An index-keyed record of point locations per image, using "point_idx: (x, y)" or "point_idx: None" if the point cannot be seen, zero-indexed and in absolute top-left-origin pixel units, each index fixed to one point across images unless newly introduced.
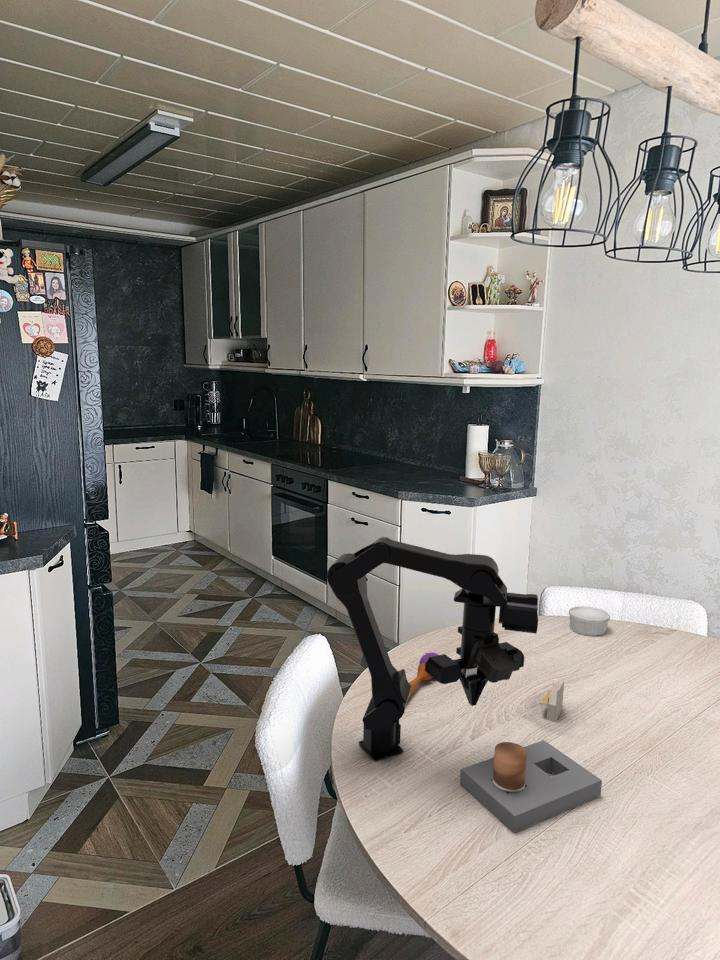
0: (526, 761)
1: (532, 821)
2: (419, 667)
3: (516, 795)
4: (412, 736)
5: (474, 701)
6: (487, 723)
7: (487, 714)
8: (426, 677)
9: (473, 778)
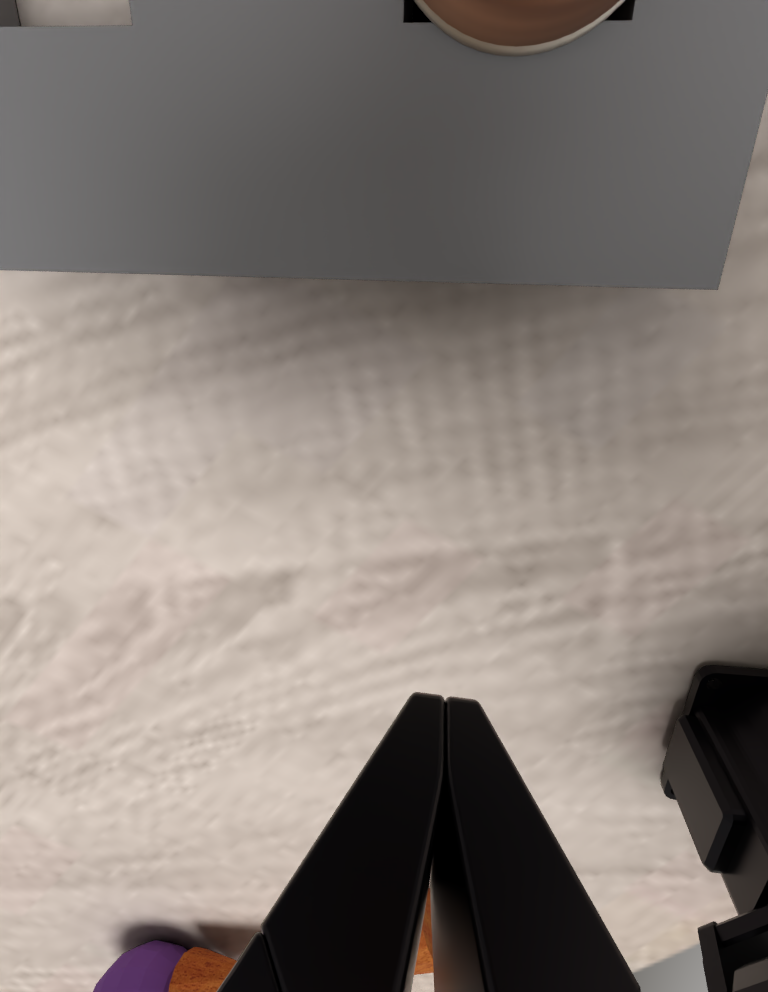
0: (172, 88)
1: None
2: None
3: None
4: (548, 729)
5: (457, 745)
6: (131, 632)
7: (89, 681)
8: (216, 971)
9: (743, 120)
